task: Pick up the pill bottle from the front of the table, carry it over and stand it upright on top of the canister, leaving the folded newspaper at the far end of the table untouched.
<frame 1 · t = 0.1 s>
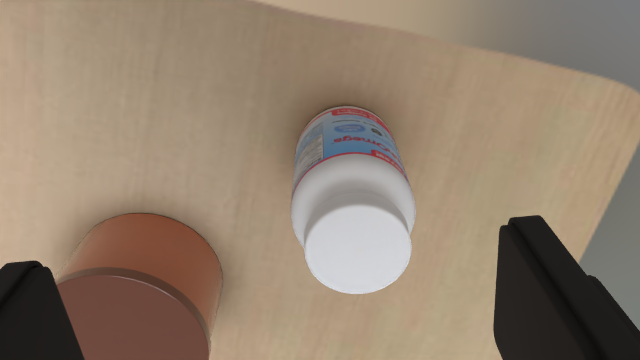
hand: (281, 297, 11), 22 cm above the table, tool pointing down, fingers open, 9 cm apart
canister: (149, 276, 37), on the table
pill bottle: (343, 149, 33), on the table
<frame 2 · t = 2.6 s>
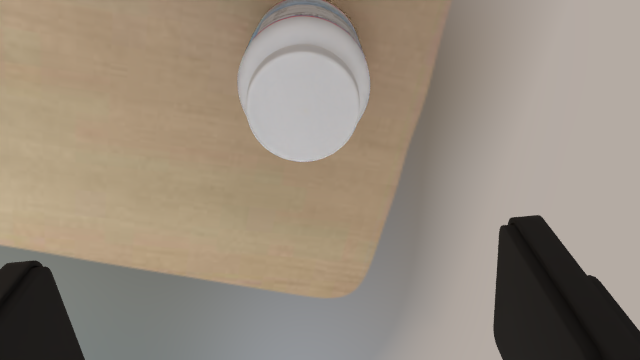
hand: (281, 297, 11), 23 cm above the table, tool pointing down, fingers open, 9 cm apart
pill bottle: (306, 46, 32), on the table
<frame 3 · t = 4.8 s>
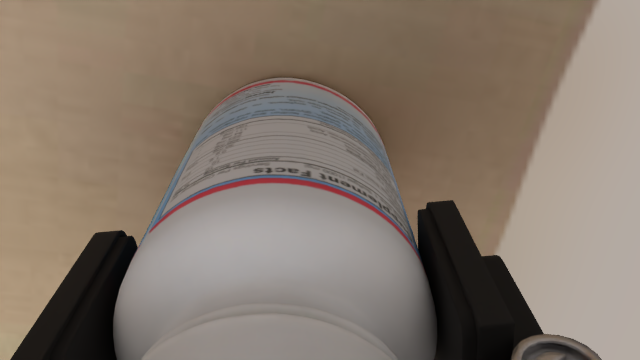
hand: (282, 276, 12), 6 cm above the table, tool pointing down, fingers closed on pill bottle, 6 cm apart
pill bottle: (290, 161, 18), on the table, touching gripper
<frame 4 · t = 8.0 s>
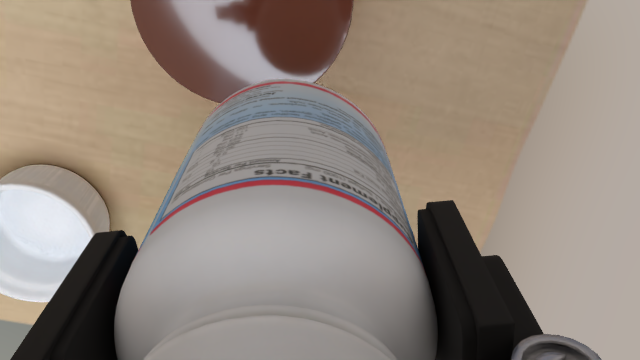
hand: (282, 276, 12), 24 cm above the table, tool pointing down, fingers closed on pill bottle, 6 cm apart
ramekin: (55, 212, 38), on the table
pill bottle: (291, 162, 18), point 17 cm above the table, touching gripper
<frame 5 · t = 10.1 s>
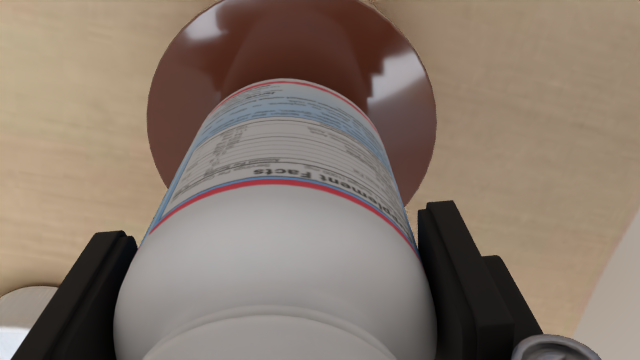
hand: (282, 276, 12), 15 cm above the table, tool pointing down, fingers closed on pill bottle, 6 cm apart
canister: (296, 82, 26), on the table
ramekin: (58, 333, 32), on the table
pill bottle: (290, 162, 18), point 9 cm above the table, touching gripper
when the fingers open (13 cm above the table, at t = 11.3 s): pill bottle stays where it is, resting on canister.
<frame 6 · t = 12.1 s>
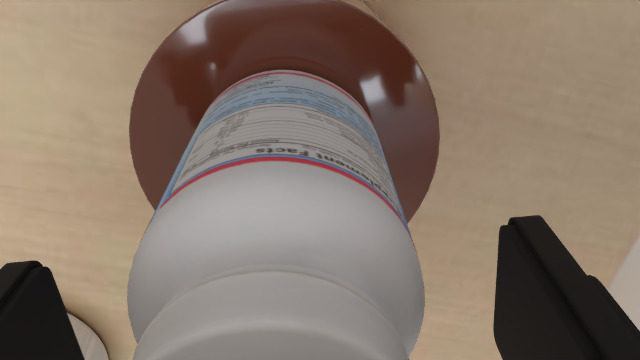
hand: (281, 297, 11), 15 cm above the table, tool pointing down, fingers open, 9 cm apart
canister: (290, 91, 24), on the table
ramekin: (43, 352, 31), on the table
pill bottle: (288, 150, 18), point 7 cm above the table, touching canister
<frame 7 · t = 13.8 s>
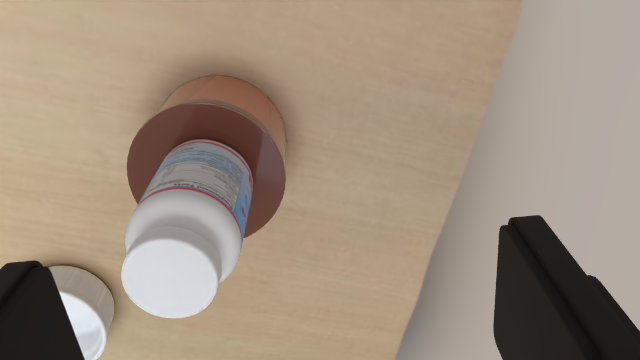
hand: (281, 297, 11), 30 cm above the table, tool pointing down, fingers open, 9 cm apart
canister: (221, 138, 42), on the table
ramekin: (72, 298, 49), on the table
pill bottle: (208, 177, 36), point 7 cm above the table, touching canister
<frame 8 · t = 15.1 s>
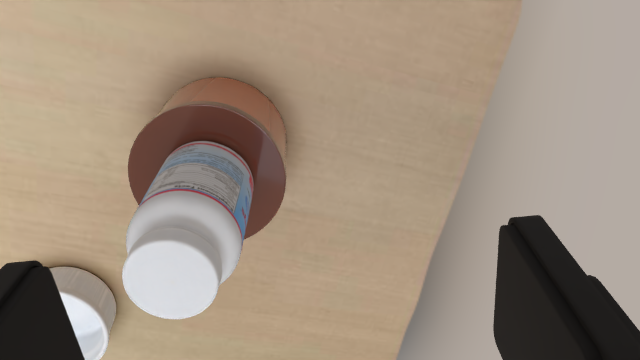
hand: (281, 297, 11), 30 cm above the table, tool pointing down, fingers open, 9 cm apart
canister: (222, 140, 42), on the table
ramekin: (74, 299, 49), on the table
pill bottle: (209, 178, 36), point 7 cm above the table, touching canister
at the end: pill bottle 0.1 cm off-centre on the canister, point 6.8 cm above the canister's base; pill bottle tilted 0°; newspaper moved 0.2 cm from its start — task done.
